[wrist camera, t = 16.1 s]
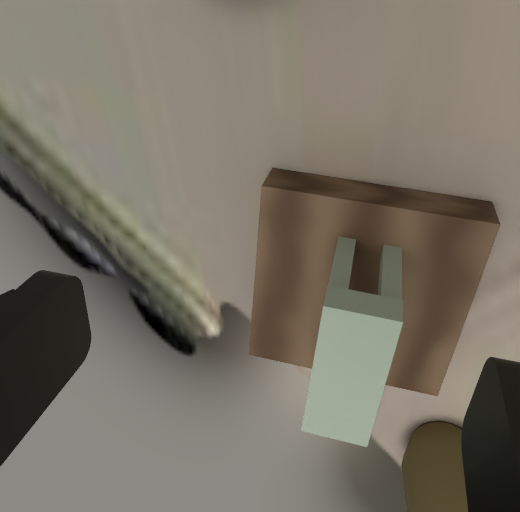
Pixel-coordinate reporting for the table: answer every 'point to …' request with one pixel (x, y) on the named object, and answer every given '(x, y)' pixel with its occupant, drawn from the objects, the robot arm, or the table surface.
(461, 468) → the squeeze bottle
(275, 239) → the platform
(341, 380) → the stool
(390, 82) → the table surface
